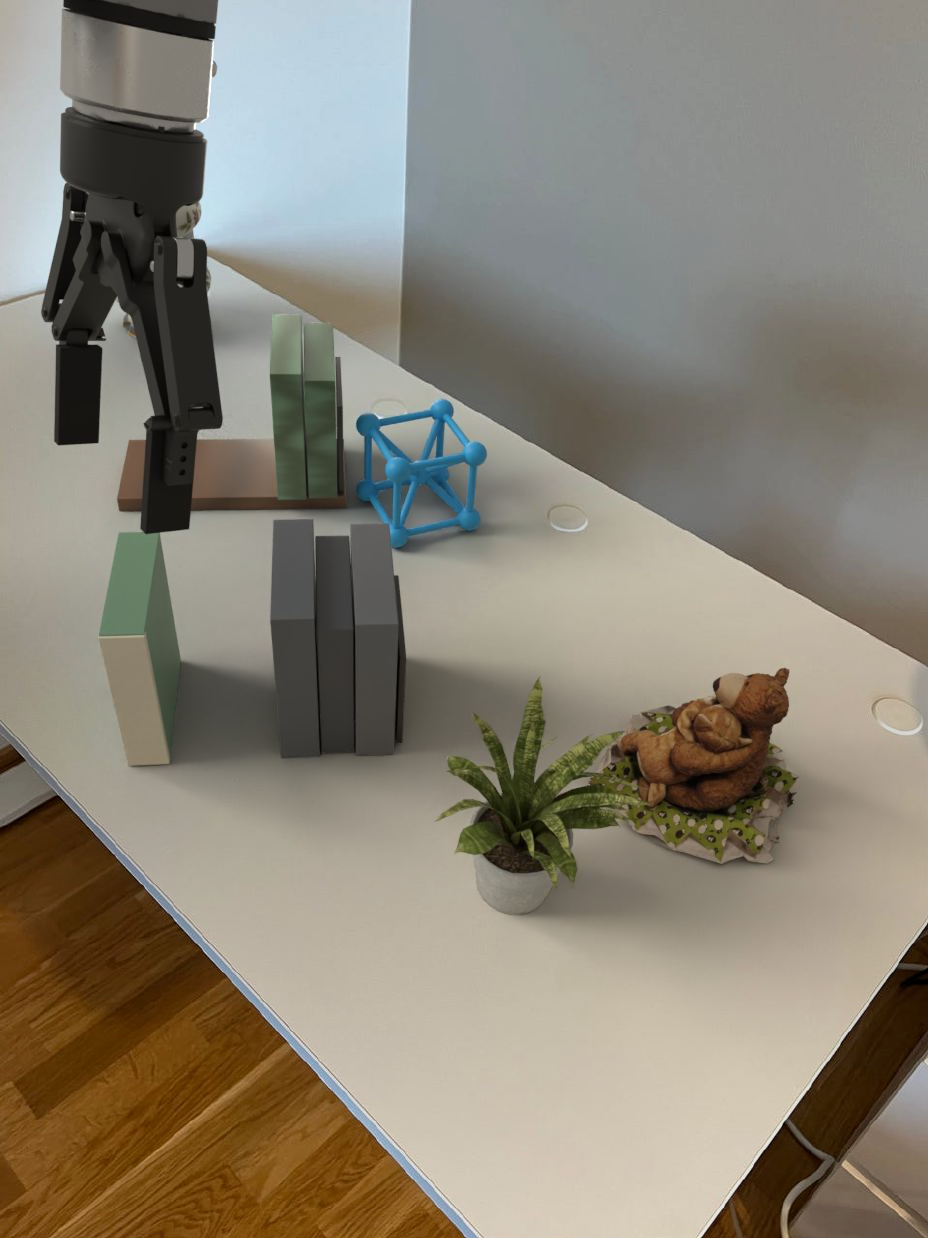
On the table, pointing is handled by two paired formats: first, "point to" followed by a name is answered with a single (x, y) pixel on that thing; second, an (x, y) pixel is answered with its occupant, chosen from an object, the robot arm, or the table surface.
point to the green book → (141, 648)
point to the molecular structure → (419, 471)
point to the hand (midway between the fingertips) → (117, 483)
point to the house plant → (531, 812)
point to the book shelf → (222, 477)
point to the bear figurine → (707, 770)
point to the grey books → (336, 640)
